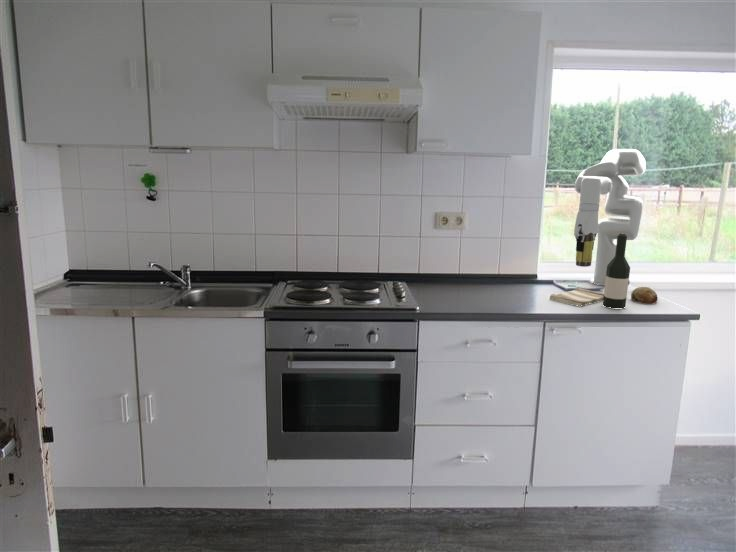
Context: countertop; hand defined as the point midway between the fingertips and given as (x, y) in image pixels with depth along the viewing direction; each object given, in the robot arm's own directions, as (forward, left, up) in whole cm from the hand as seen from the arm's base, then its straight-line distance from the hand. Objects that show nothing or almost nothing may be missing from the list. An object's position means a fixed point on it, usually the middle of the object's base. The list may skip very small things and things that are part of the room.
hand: (584, 250), depth 213 cm
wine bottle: (-1, +15, -21) cm, 26 cm away
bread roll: (-21, +17, -22) cm, 34 cm away
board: (0, 0, -21) cm, 21 cm away
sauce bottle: (0, 0, -7) cm, 7 cm away
